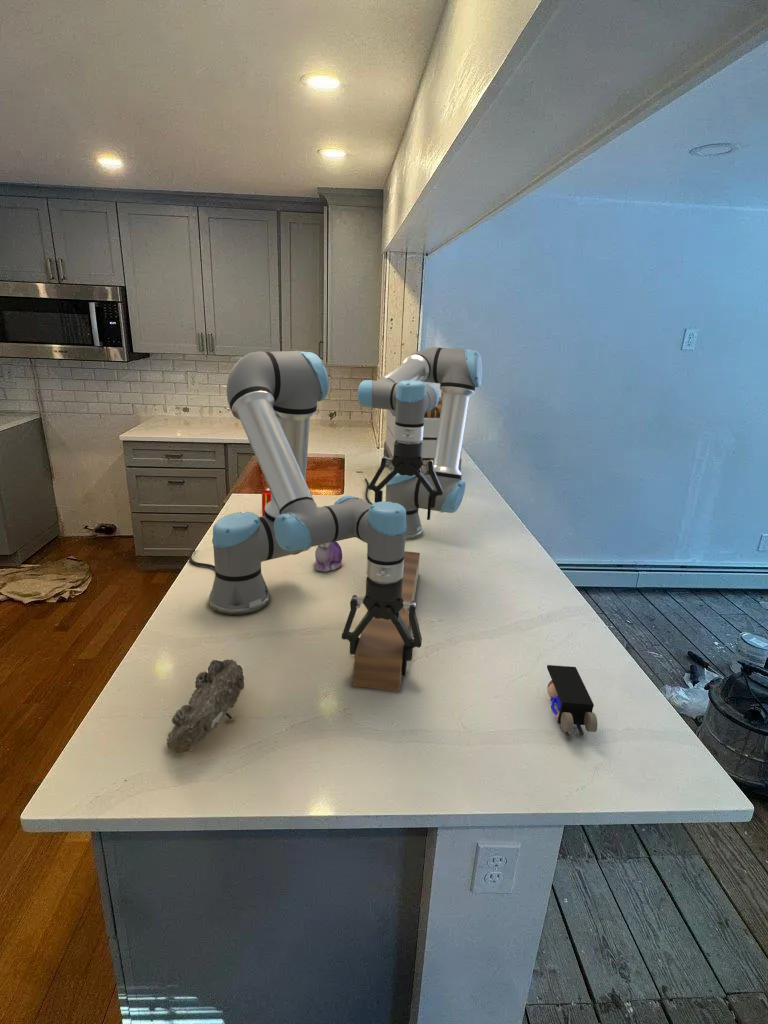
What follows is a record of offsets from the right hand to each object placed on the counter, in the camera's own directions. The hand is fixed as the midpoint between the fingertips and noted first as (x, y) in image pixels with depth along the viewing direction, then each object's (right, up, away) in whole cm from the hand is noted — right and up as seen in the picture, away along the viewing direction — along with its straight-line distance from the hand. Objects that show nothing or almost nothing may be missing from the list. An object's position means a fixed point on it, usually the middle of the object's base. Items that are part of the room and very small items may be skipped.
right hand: (404, 516), depth 157 cm
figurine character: (+31, -40, -45) cm, 67 cm away
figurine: (-23, -15, +16) cm, 31 cm away
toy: (-44, 0, +55) cm, 70 cm away
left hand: (-6, -33, -33) cm, 47 cm away
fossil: (-38, -38, -49) cm, 73 cm away
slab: (-4, -26, -13) cm, 30 cm away
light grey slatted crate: (+12, +20, +118) cm, 120 cm away
